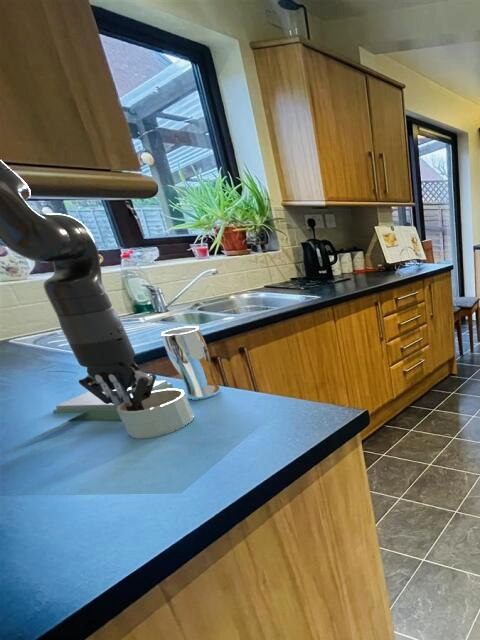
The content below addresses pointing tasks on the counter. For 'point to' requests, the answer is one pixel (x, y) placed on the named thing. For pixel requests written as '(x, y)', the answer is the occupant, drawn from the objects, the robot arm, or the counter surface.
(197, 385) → the beer glass
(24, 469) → the counter surface
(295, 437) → the counter surface
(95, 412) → the scale
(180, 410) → the bowl
